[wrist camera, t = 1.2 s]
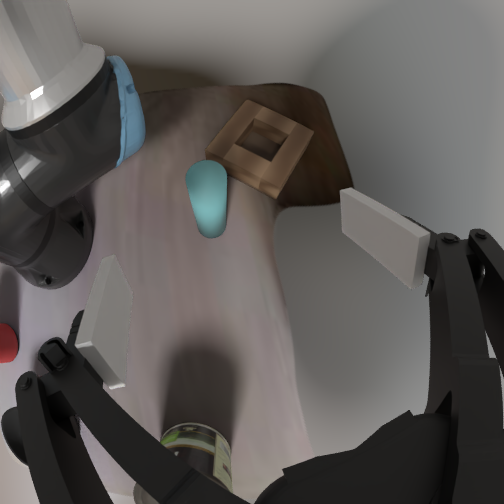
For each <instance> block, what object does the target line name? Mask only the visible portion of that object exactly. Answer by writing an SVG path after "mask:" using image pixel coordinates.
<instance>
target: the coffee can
mask: <svg viewBox="0 0 504 504" xmlns="http://www.w3.org/2000/svg"><path fill="white" fill-rule="evenodd" d="M160 443H161V444H162V445H164V446H165V447H166V448H167V449H169V450H170V451H171V452H172V453H174V454H175V455H176V456H178V457H179V458H180V459H182V460H183V461H184V462H186V463H187V464H188V465H190V466H191V467H192V468H194V469H195V470H197V471H198V472H200V473H201V474H203V475H204V476H206V477H207V478H209V479H210V480H212V481H213V482H215V483H216V484H218V485H220V486H221V487H223V488H224V489H226V490H228V491H229V492H231V493H233V489H232V473H231V450H230V446H229V444H228V442H227V441H226V439H225V438H224V437H223V436H222V435H221V434H220V433H219V432H218V431H217V430H215V429H213V428H211V427H209V426H207V425H204V424H199V423H182V424H178V425H175V426H173V427H172V428H170V429H169V430H167V431H166V432H165V433H164V435H163V436H162V438H161V441H160ZM133 494H134V501H135V503H136V504H159V503H158V502H157V501H156V500H155V499H154V498H153V497H152V496H150V495H149V494H148V493H147V492H146V491H145V490H144V489H143V488H142V487H141V486H140V485H139V484H138V483H136V484H135V487H134V492H133Z"/></svg>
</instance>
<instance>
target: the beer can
mask: <svg viewBox="0 0 504 504" xmlns="http://www.w3.org/2000/svg"><path fill="white" fill-rule="evenodd" d="M17 352H18V341H17V338H16V335H15V333H14V331H13V329H12V328H11V327H10V326H9V325H7V324H3V323H0V363H6V362H11V361H13V360H14V359H15V357H16V355H17Z"/></svg>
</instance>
